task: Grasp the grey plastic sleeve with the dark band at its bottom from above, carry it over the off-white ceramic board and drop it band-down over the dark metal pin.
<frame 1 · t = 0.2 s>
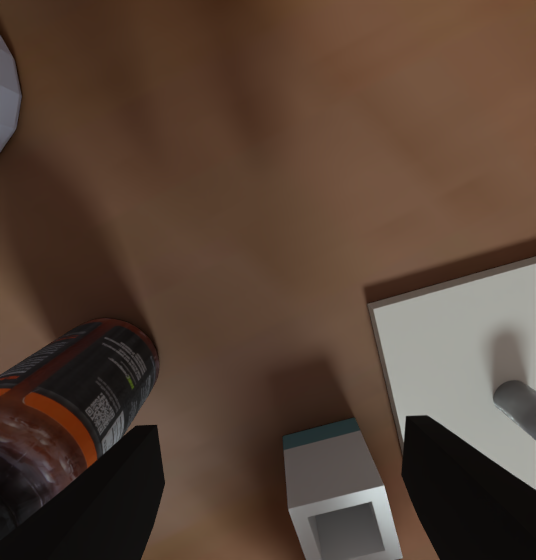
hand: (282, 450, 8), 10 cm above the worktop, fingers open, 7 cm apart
pin board: (498, 386, 19), on the worktop
supplement bottle: (117, 357, 19), on the worktop
sleeve: (327, 456, 20), on the worktop
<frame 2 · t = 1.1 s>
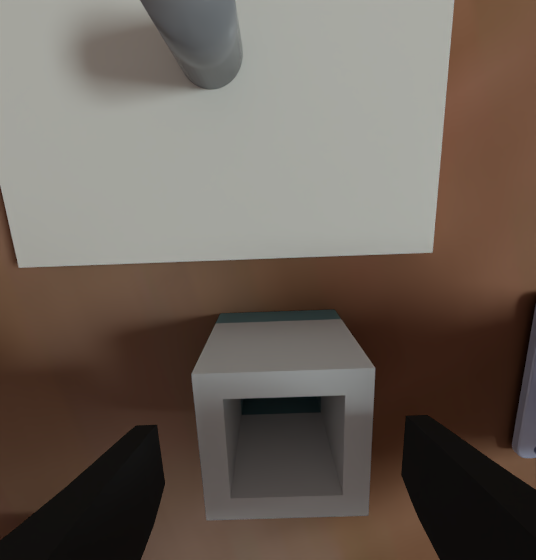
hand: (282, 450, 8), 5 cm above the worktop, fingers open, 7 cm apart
pin board: (215, 67, 11), on the worktop
sleeve: (278, 363, 13), on the worktop
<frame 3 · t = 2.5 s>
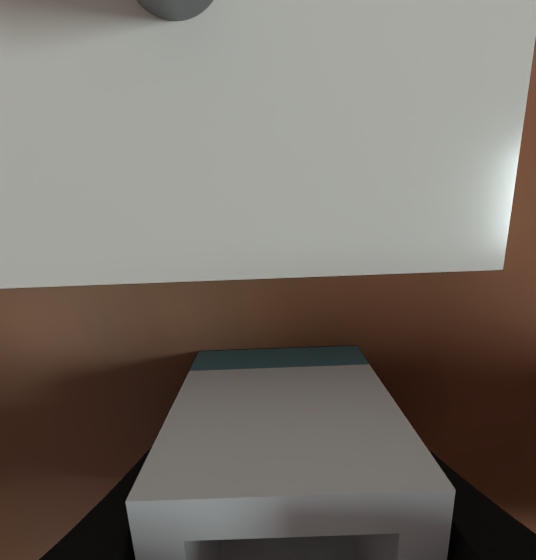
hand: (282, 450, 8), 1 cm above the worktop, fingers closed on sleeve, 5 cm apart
sleeve: (279, 417, 10), on the worktop, touching gripper
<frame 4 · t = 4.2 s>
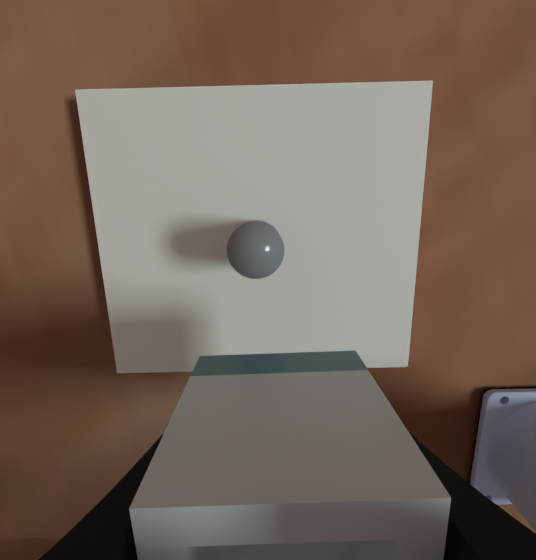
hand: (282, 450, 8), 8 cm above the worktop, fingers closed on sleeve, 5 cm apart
pin board: (258, 240, 16), on the worktop
sleeve: (279, 420, 10), point 7 cm above the worktop, touching gripper
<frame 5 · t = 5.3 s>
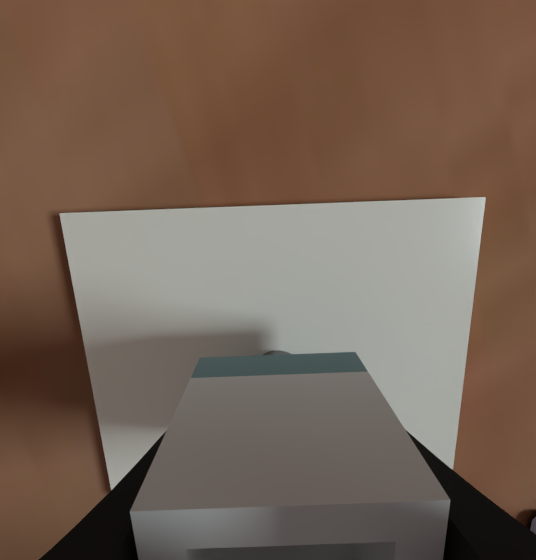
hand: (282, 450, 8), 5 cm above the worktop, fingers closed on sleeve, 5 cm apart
pin board: (276, 362, 14), on the worktop
sleeve: (279, 422, 10), point 4 cm above the worktop, touching gripper
when the fingers open (4 cm above the worktop, at t = 6.0 s): sleeve drops 2 cm, resting on pin board.
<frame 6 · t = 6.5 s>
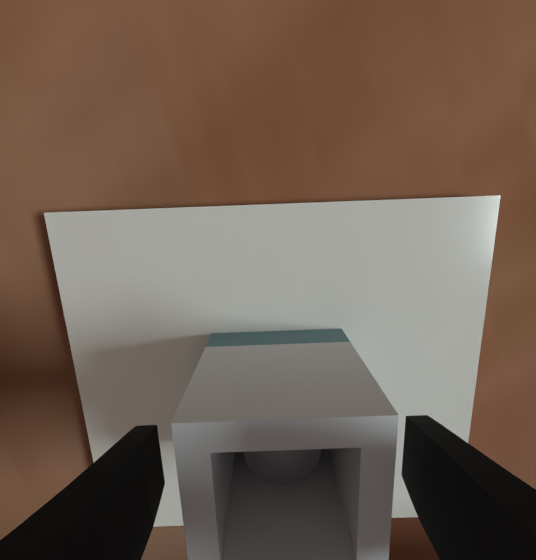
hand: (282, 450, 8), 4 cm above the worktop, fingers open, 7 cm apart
pin board: (276, 370, 13), on the worktop
sleeve: (278, 388, 12), point 1 cm above the worktop, touching pin board
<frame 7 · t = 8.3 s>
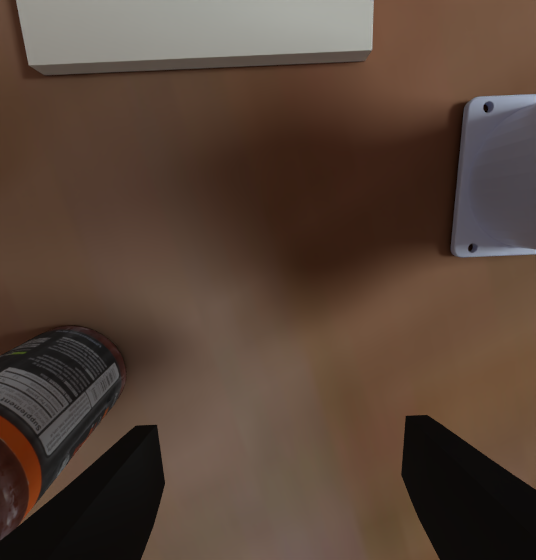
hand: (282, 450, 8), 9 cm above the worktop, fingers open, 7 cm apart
supplement bottle: (84, 365, 18), on the worktop
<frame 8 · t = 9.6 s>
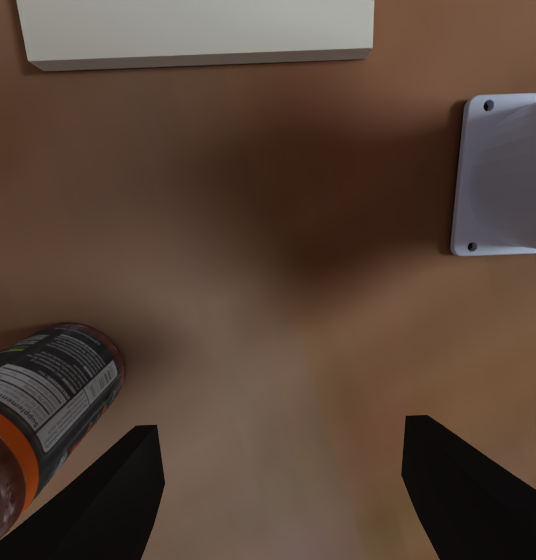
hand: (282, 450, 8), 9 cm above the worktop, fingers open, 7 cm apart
supplement bottle: (82, 363, 18), on the worktop
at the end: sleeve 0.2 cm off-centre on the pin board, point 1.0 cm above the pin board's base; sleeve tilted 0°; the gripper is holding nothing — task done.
